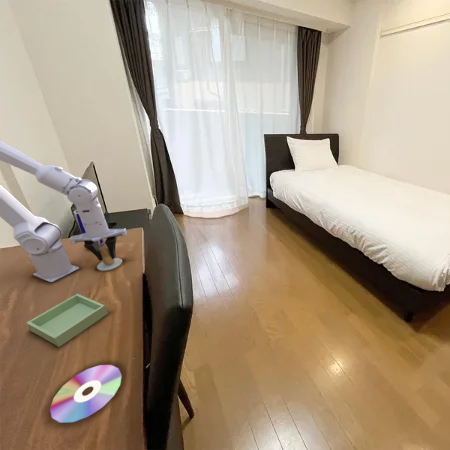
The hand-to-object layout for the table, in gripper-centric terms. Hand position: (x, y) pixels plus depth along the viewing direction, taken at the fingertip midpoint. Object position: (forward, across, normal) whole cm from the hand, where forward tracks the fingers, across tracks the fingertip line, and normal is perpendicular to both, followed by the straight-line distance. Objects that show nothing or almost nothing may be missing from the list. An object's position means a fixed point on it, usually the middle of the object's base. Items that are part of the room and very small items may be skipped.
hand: (107, 258), depth 89 cm
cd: (+3, +5, -48) cm, 48 cm away
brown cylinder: (+2, 0, 0) cm, 2 cm away
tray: (+2, -4, -26) cm, 26 cm away
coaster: (+2, 0, 0) cm, 2 cm away
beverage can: (+3, -7, +15) cm, 17 cm away
